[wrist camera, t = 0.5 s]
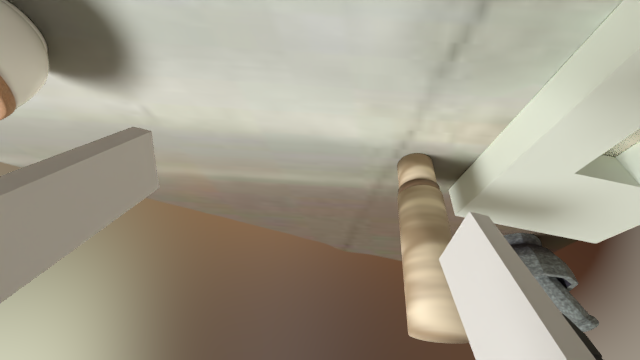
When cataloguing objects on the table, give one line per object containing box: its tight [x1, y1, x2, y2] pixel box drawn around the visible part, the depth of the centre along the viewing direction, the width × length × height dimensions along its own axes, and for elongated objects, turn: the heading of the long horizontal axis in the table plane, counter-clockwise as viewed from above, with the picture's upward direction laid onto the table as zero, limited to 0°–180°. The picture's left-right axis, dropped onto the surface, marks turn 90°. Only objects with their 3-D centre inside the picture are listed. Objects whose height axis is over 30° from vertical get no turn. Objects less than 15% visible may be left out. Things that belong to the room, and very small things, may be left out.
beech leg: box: [397, 153, 469, 343], centre depth 25 cm, size 5×5×18 cm
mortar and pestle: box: [504, 233, 599, 332], centre depth 36 cm, size 11×9×12 cm
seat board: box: [449, 0, 640, 243], centre depth 23 cm, size 22×18×4 cm
